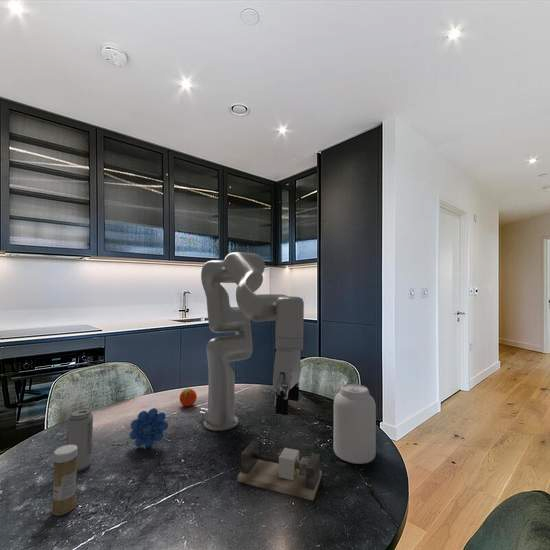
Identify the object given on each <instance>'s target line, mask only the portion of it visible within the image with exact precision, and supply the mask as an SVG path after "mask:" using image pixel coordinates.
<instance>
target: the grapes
mask: <svg viewBox="0 0 550 550" xmlns="http://www.w3.org/2000/svg"><path fill="white" fill-rule="evenodd" d="M165 420H166V413H165V412H162V411H161V412H158V409H157V408H154V407H151V409H149V410H148V411H146V410H142V411H140V412H139V413H138V414H137V418H135V419H134V420H132V422H130V429H132V430H131V431H130V433H129V439H130V440H132V441H133V440H134V445H135V446H136V447H138V448H140V447H142V446H144V447H146V448H151V447H153V446H154V444H155V442H157V443H158V442H161V441H162V440H163V438H164V434H165V433H164V432H165V431H166V430H167V429H168V427H169V423H168V422H167V421H165Z"/></svg>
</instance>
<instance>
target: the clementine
mask: <svg viewBox="0 0 550 550" xmlns="http://www.w3.org/2000/svg"><path fill="white" fill-rule="evenodd" d="M179 401H180V404H181V405H182V406H184V407H190V406H193V405H194V404H195V403H196V401H197V392H196V391H195V390H194V389H192V388H186V389H184V390H182V391H181V393H180V395H179Z"/></svg>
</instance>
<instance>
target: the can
mask: <svg viewBox="0 0 550 550" xmlns="http://www.w3.org/2000/svg"><path fill="white" fill-rule="evenodd" d="M376 416H377V405H376V401H375V399H374V397H373V396H371V395H370V390H369V389H368V387H366V386H365V385H361V384H356V383H350V384H349V383H348V384H343V385H341V386H340V388H339V392H338V393H336V394H335V396H334V399H333V443H332V445H333V452H334V454H335V455H336V456H337V458H338V459H340V460H343V461H345V462H348V463H351V464H357V465H358V464H359V465H360V464H361V465H363V464H368V463H370V462H372V461H374V460H375V458H376V455H377V451H376V450H377V440H376V439H377V429H376V428H377V422H376V421H377V420H376V419H377V417H376Z"/></svg>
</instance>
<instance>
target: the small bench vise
mask: <svg viewBox="0 0 550 550" xmlns="http://www.w3.org/2000/svg"><path fill="white" fill-rule="evenodd" d="M259 448H260V447H259V441H255V440H251V442H250V443H249V444H248V445H247V446H246V448H245V449H244V450H242V452H241V453H240V456H241V457H240V458H241V459H240V472H238V473H239V474H238V475H237V482H239V483H242V484H247V485H250V486H254V487H257V488H262V489H266V490H270V491H273V492H278V493H282V494H285V495H289V496H294V497H298V498H302V499H305V500H309V501H314V500H315V496H316V493H317V491H318V488H319V485H320V482H321V479H322V476H323V475H322V474H323V473H322V470H321V469H320V468H321V455H320V453H314V452H312V453H311V456H310V457H304V456H302V457H301V458H300V459H299V462H296V463H295V468H296V469H299V470H298V472H297V475H296V477H295V479H294V481H293V480H289V479H285V478H281V477H279V457H273V456H268V455H263V454H260V453H259Z"/></svg>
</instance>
